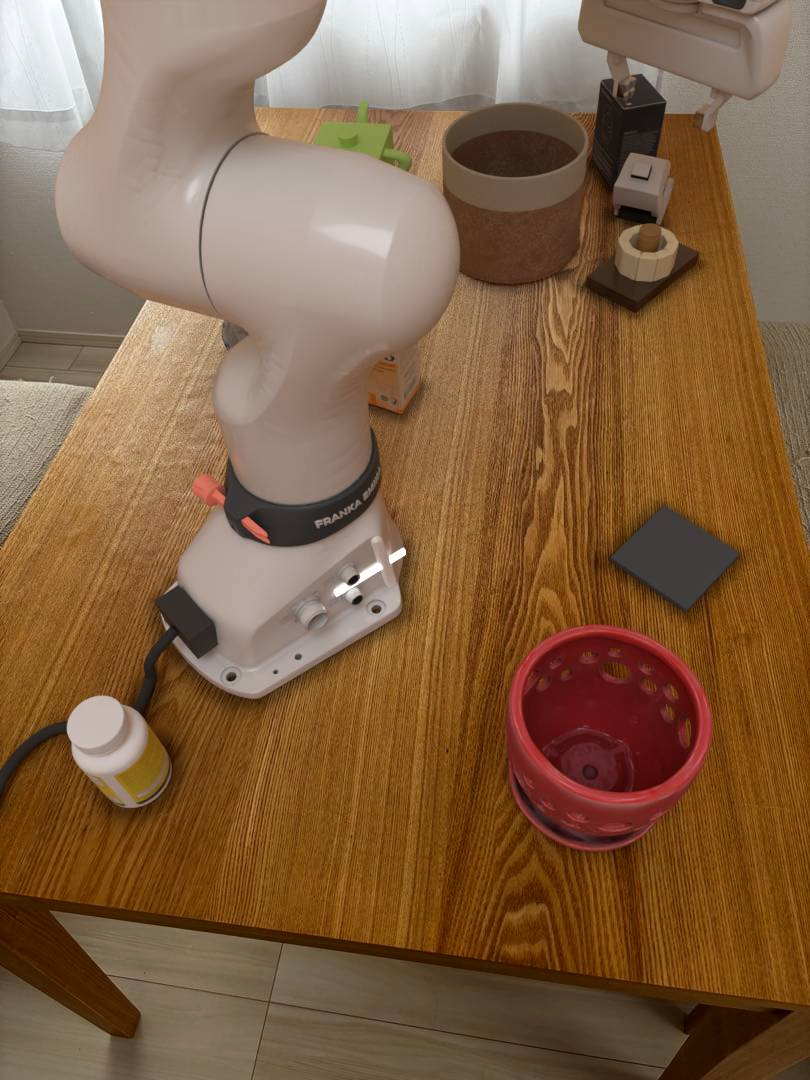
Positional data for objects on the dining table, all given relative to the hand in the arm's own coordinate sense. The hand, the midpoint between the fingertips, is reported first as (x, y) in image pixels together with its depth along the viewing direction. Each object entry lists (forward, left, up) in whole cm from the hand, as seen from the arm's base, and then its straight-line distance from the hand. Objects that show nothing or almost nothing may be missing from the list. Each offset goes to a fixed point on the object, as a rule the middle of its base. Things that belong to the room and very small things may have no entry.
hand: (662, 111), depth 86 cm
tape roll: (0, -1, -17) cm, 17 cm away
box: (+16, +14, -19) cm, 28 cm away
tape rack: (0, -1, -19) cm, 19 cm away
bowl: (-37, +19, -19) cm, 46 cm away
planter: (-6, +14, -19) cm, 24 cm away
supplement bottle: (-76, -9, -19) cm, 79 cm away
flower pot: (-52, -34, -19) cm, 65 cm away
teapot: (-13, +34, -19) cm, 41 cm away
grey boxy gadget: (+9, +6, -19) cm, 22 cm away
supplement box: (-34, +8, -19) cm, 40 cm away
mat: (-31, -27, -19) cm, 45 cm away
